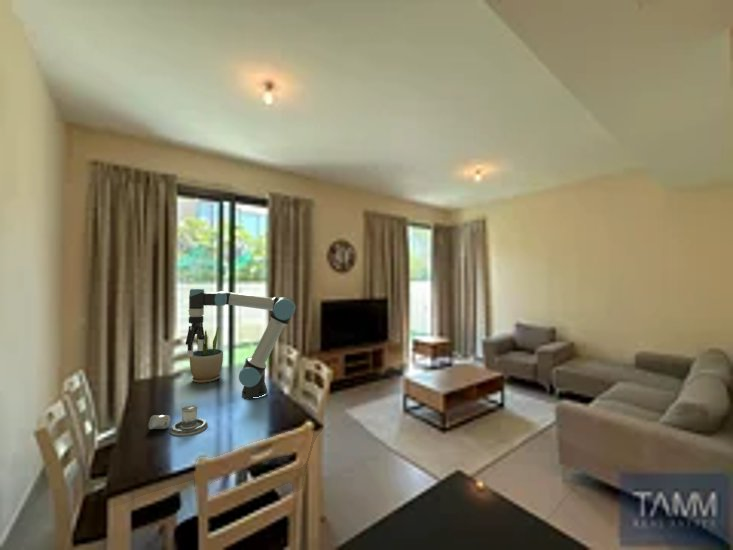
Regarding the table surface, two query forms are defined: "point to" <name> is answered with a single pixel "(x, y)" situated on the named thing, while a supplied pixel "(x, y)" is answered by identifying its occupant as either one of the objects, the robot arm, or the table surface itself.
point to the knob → (189, 417)
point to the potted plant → (206, 362)
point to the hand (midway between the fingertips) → (195, 353)
